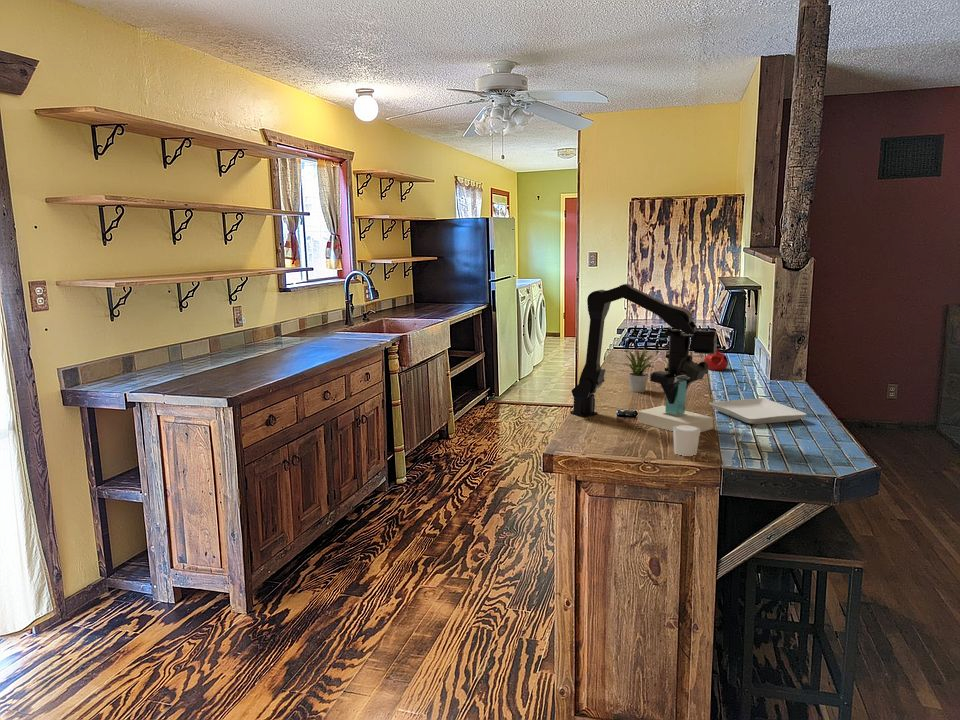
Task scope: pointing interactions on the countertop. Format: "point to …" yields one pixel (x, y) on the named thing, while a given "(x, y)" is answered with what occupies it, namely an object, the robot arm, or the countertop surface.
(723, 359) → the pomegranate
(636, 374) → the house plant
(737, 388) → the countertop surface
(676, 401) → the teal rectangular block
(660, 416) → the beige square hole board
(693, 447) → the white tapered cup
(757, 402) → the salad plate
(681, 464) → the countertop surface
